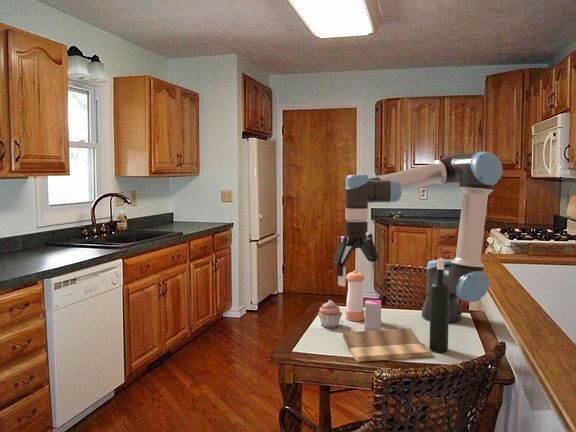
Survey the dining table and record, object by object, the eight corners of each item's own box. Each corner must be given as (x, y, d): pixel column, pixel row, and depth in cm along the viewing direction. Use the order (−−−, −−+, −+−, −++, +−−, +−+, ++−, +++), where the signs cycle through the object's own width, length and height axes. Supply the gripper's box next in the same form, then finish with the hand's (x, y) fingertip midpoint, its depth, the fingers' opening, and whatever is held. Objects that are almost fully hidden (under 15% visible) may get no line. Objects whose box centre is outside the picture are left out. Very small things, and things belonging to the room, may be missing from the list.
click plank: (349, 351, 166) (349, 347, 165) (342, 336, 173) (343, 332, 172) (419, 346, 170) (420, 342, 169) (410, 332, 177) (410, 328, 176)
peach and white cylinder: (367, 317, 204) (367, 270, 202) (359, 322, 198) (359, 273, 196) (350, 315, 208) (350, 268, 206) (342, 319, 202) (342, 271, 200)
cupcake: (320, 321, 200) (320, 295, 199) (344, 323, 197) (344, 297, 196) (314, 328, 191) (314, 301, 190) (339, 330, 188) (339, 303, 187)
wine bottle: (451, 352, 165) (453, 259, 163) (435, 353, 164) (437, 260, 161) (441, 346, 171) (443, 256, 168) (425, 347, 169) (427, 257, 166)
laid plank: (420, 347, 169) (420, 343, 169) (431, 356, 161) (431, 351, 161) (349, 352, 165) (349, 347, 165) (357, 361, 157) (357, 356, 157)
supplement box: (380, 335, 182) (381, 303, 181) (363, 334, 183) (364, 303, 182) (381, 330, 188) (381, 299, 186) (364, 329, 189) (365, 299, 188)
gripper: (372, 217, 184) (371, 276, 186) (321, 222, 168) (321, 286, 170) (389, 219, 179) (388, 279, 180) (338, 224, 163) (337, 290, 165)
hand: (355, 282), depth 175 cm, fingers open, 13 cm apart
